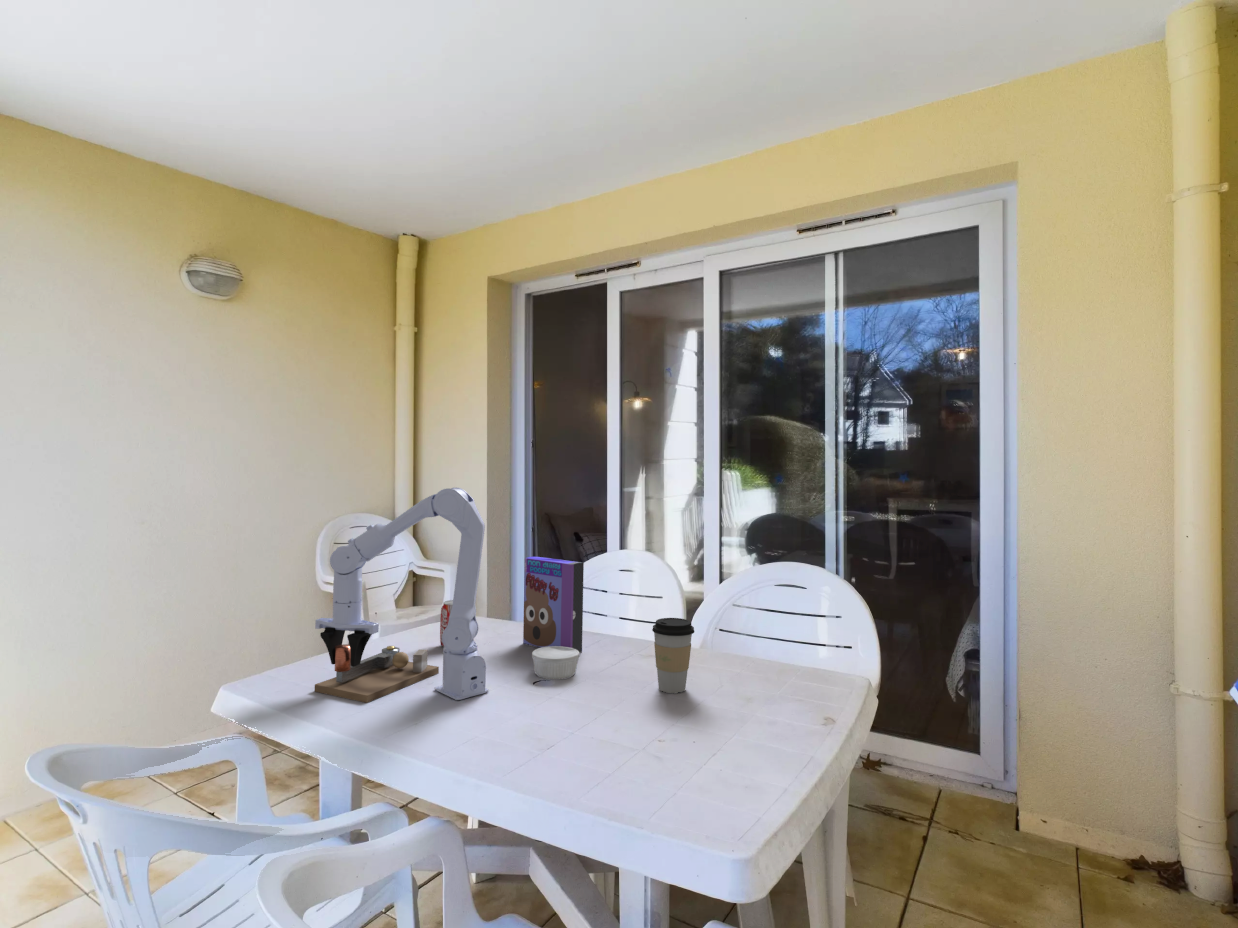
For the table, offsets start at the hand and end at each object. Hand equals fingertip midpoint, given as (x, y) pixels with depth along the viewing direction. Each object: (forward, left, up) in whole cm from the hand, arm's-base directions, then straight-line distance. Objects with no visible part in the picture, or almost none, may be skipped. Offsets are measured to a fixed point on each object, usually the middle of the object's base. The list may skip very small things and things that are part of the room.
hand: (345, 664), depth 139 cm
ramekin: (-21, -41, -6) cm, 47 cm away
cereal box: (-3, -55, -6) cm, 55 cm away
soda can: (+16, -36, -6) cm, 40 cm away
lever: (+4, -7, -4) cm, 9 cm away
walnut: (+2, -14, -4) cm, 14 cm away
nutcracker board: (+1, -8, -6) cm, 10 cm away
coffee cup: (-47, -53, -6) cm, 71 cm away
